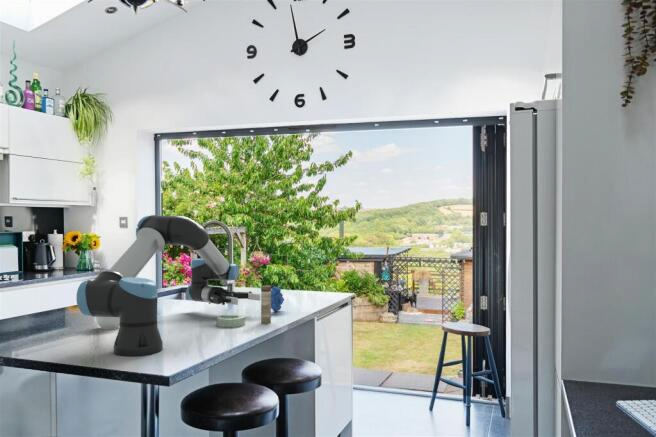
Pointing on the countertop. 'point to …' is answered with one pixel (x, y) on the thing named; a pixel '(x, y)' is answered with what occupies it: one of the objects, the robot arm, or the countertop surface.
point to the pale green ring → (231, 320)
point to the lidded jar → (108, 322)
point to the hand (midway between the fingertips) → (248, 299)
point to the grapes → (276, 299)
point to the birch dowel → (265, 304)
